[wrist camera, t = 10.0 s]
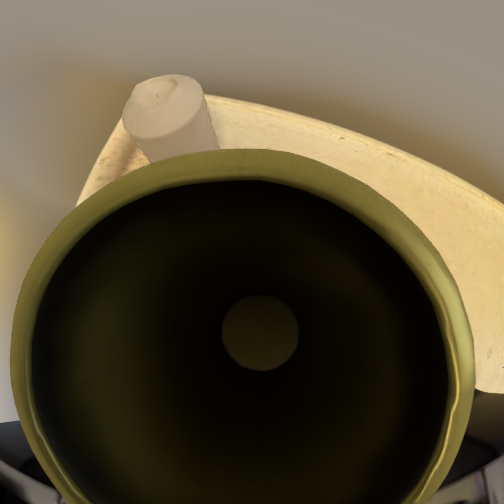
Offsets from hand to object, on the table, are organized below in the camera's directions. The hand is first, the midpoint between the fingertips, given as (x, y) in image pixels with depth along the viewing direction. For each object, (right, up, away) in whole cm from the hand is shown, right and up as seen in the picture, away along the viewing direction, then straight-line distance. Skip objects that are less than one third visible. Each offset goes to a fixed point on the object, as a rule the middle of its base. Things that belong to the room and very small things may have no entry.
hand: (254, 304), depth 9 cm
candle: (-5, +9, +15) cm, 18 cm away
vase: (0, -3, +7) cm, 7 cm away
